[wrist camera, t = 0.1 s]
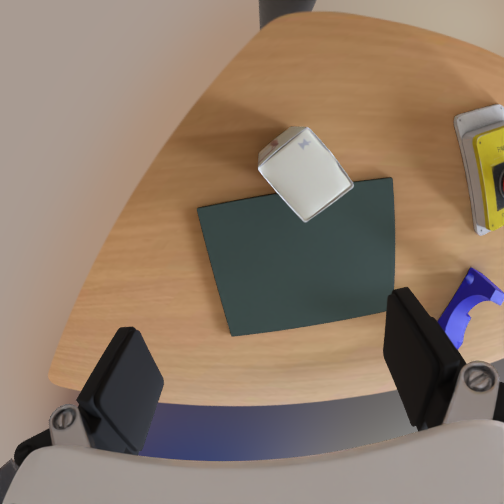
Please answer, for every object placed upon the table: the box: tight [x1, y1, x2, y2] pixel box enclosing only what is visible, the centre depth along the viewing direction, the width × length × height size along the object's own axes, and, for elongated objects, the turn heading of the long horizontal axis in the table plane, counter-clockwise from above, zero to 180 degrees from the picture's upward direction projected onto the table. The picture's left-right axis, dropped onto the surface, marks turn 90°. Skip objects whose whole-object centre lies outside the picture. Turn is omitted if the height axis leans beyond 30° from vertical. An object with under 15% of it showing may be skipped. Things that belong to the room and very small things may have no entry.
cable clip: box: [438, 267, 504, 350], centre depth 30 cm, size 12×4×6 cm, turn 160°
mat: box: [197, 177, 395, 336], centre depth 31 cm, size 16×20×1 cm
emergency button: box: [454, 104, 504, 235], centre depth 24 cm, size 9×4×15 cm
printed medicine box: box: [258, 126, 354, 222], centre depth 23 cm, size 5×4×10 cm
